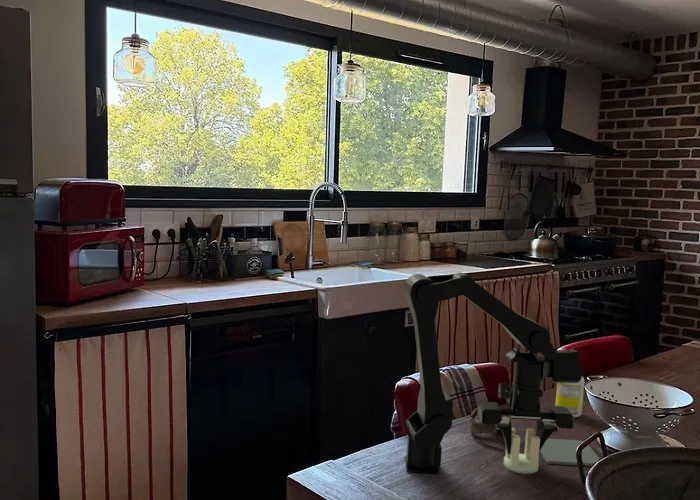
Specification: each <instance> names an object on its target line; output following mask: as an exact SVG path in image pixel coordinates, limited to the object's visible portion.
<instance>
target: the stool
mask: <svg viewBox="0 0 700 500" xmlns="http://www.w3.org/2000/svg"><path fill="white" fill-rule="evenodd" d="M516 431H517V430H516V428H515V427H512V435H511V452H510V454H508V453H507V450H506V449H505V455H504V457H503V466H504V468H506V469H507V470H508V471H511V472H513V473H517V474H521V475H523V474H524V475H532V474H534V473H535V474H536V473H537V472H538V471H539V463H540V462H539V457H540V451H539V447H540V438H539V437H538V436H536V431H535V430H534V428H526V429H525V431H526V432H525V442H524V453H520V449H521V436H520V435H518V434H517V433H516Z"/></svg>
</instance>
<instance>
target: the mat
mask: <svg viewBox="0 0 700 500" xmlns="http://www.w3.org/2000/svg"><path fill="white" fill-rule="evenodd" d="M584 441H585V440H576V439H558V438H548V439H547V440H546V442H545V443H544V445H543V446H542V448H541V450H540V451H539V454H540V455H541V456H542V457H543V460H544V461H545V462H546V464H549V465H551V464H552V465H564V466H565V465H567V466H568V465H569V466H578V465H577V459H576V448H577V446H578V445H580V444H581V443H582V442H584ZM599 459H600V457H599V456H598V455H597V453H596V452H595V451H594V450H593V449H592V448H591V446H590V445H589V444H588V446H587V447H585V448H584V449H583V450H582V461H583V465H585V467H593V466H592V465H593V464H594V463H595V462H597V461H598V460H599ZM600 460H601V459H600Z"/></svg>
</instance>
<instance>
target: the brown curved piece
mask: <svg viewBox="0 0 700 500" xmlns="http://www.w3.org/2000/svg"><path fill="white" fill-rule="evenodd" d="M477 416H478V407H476V408H475V409H473V411H472V412H471V414H470V417H471V419H470V425H469V429H470V434H471V435H473V434H474V433H475V434H479V435H482V434H488V433H494V434H498V432H497V427H496V425H495V424H484V423H482V422H478V421H476V420H475V418H476V417H477ZM509 423H510V425H511V427H512V428H513V425H512V422H511V418H509ZM498 431H501V429H500V428H498ZM501 432H502V431H501Z"/></svg>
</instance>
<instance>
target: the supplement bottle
mask: <svg viewBox="0 0 700 500" xmlns="http://www.w3.org/2000/svg"><path fill="white" fill-rule="evenodd" d="M581 368H582V366H581ZM584 391H585V378H584V376H582V378H581V380H580V382H579V383H556V392H555V404H554V406H565V407H566V408H567V409H568V410H569V411H570V413H571V414H572V415H573V416H574V418H578V417H580V416H582V414H583V413H582V412H583V402H584Z"/></svg>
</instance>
